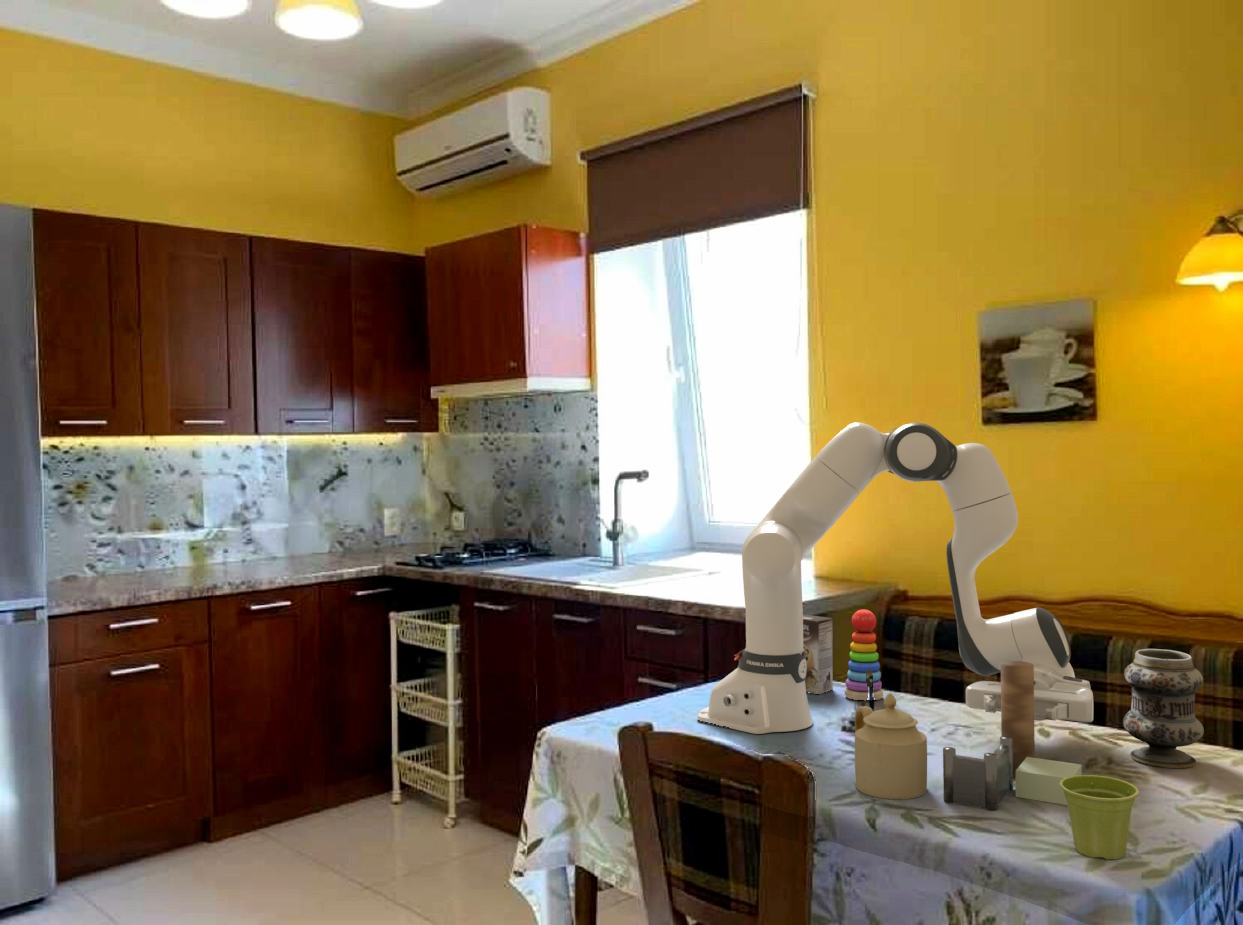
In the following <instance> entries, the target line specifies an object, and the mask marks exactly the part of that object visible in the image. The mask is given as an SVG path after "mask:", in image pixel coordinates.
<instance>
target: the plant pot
mask: <svg viewBox="0 0 1243 925" xmlns="http://www.w3.org/2000/svg"><path fill="white" fill-rule="evenodd" d="M1060 787H1061V788H1062V789H1063V790H1064V796H1065V798H1066V799H1067V804H1068V805H1067V808H1068V815H1069V819H1070V825H1071V826H1070V827H1071V832H1072V838H1073V839H1072V840H1073V845H1074V848H1075V850H1076V851H1077V852H1078V853H1079V854H1082V855H1084V856H1086V857H1088V858H1093V859H1094V858H1099V857H1100V858H1104V859H1105V860H1109V859H1113V860H1116V859H1122V858H1123V857H1125V856H1126V853H1127V845H1128V838H1129V831H1130V822H1131V818H1132V810H1133V807H1134V805H1135V800H1136V798H1137V797H1138V796H1139V791H1140V790H1139V789H1138V787H1137V786H1136V785H1134V784H1132V783H1131V782H1128V781H1125V780H1123V779H1119V778H1115V777H1111V776H1106V775H1104V776H1103V775H1096V774H1095V775H1094V774H1093V775H1091V774H1088V775H1087V774H1082V775H1077V776H1070V777H1066V778H1064V779H1062V780H1061V781H1060Z"/></svg>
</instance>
